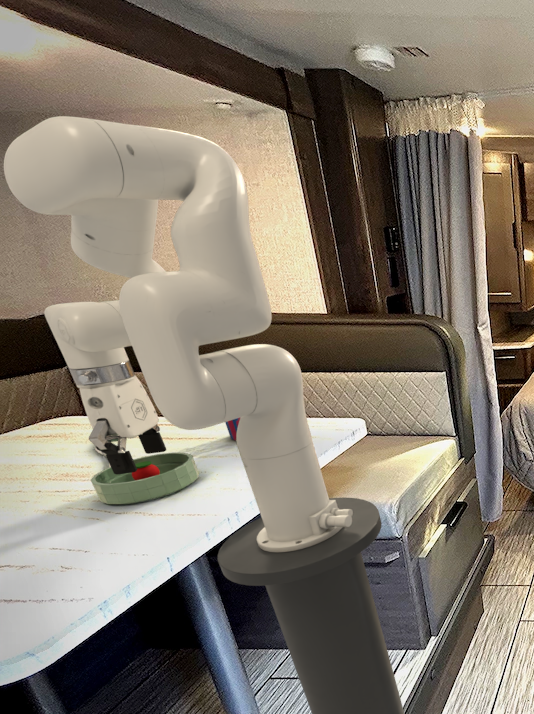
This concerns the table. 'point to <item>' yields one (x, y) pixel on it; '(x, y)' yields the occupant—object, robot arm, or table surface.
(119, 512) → the table surface
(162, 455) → the bowl
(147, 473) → the strawberry
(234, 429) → the mug
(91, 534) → the table surface
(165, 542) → the table surface
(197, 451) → the table surface
